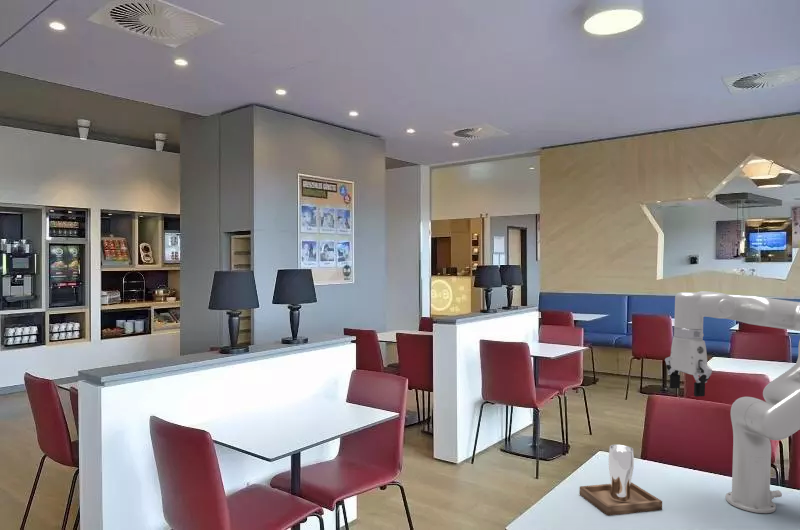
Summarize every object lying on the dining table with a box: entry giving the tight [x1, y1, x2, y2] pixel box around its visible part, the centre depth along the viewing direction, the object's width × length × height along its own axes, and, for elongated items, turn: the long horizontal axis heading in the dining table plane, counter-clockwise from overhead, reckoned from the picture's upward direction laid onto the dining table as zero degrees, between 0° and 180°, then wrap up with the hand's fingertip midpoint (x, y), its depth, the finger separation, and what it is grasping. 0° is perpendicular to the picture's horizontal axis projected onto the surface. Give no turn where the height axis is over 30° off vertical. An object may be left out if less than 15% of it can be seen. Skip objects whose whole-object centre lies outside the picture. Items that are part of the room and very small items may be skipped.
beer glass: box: [608, 443, 635, 503], centre depth 164 cm, size 7×7×15 cm
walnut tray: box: [578, 481, 663, 517], centre depth 164 cm, size 18×14×2 cm
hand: (686, 392), depth 163 cm, fingers open, 9 cm apart
